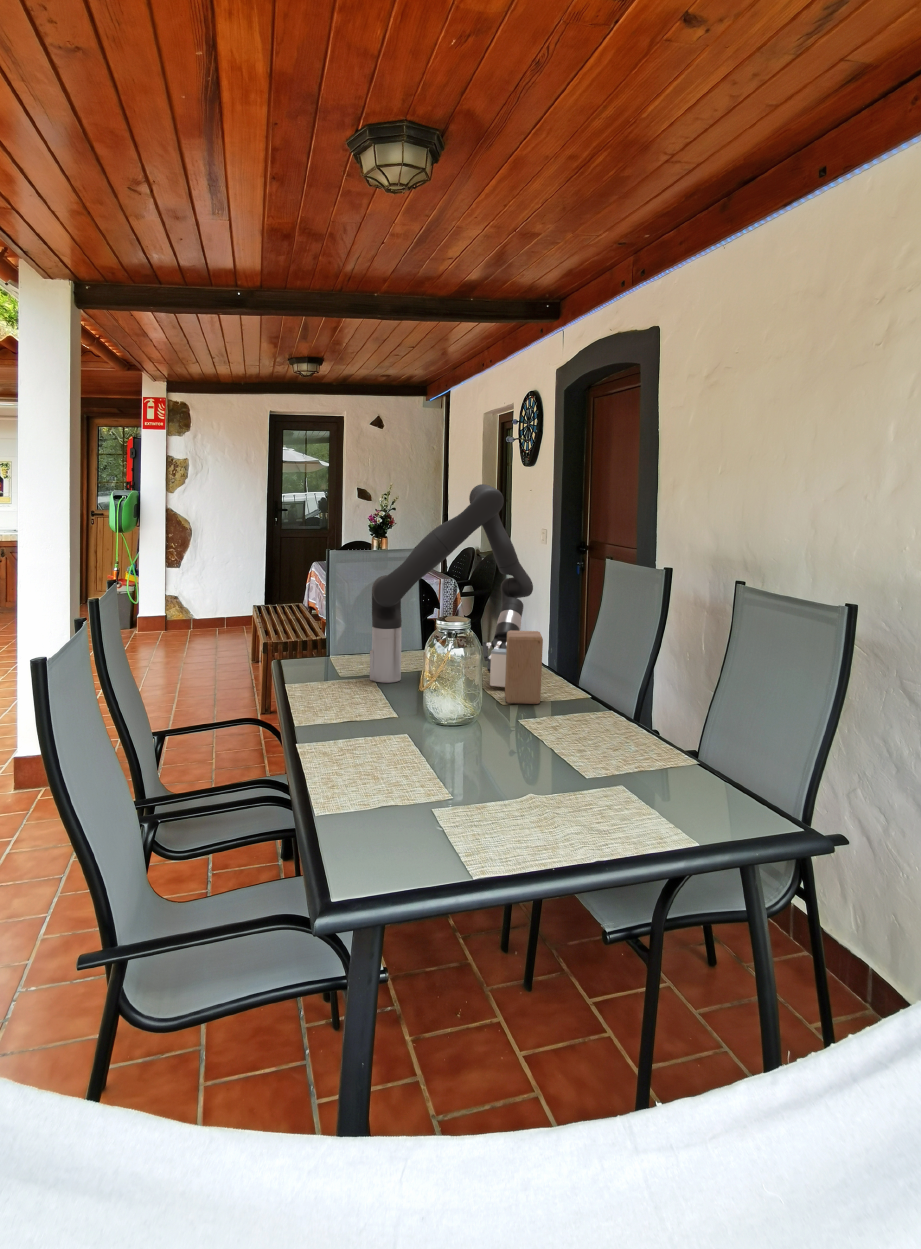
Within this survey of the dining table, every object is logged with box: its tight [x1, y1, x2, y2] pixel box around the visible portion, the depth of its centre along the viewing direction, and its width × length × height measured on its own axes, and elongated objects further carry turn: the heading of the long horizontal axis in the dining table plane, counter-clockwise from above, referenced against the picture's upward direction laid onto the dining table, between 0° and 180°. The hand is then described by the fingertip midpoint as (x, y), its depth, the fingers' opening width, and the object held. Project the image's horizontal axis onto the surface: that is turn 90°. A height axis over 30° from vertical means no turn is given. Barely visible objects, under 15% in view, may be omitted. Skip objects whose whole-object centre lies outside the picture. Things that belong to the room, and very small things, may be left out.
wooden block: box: [504, 630, 544, 705], centre depth 237 cm, size 10×10×20 cm
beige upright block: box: [489, 648, 506, 688], centre depth 251 cm, size 5×5×11 cm
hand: (498, 672), depth 249 cm, fingers closed on beige upright block, 5 cm apart
